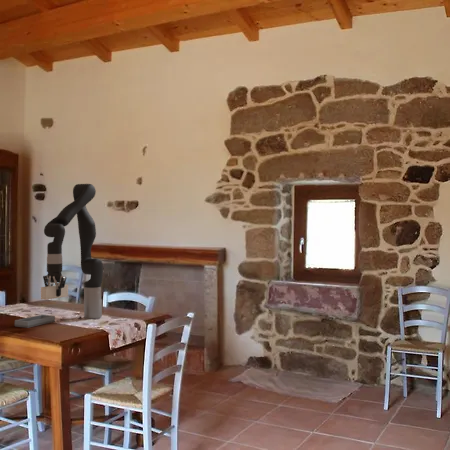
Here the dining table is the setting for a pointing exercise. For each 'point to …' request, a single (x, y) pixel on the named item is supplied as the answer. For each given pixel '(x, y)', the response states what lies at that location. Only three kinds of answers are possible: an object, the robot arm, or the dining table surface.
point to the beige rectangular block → (53, 292)
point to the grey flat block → (34, 321)
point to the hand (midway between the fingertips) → (54, 295)
